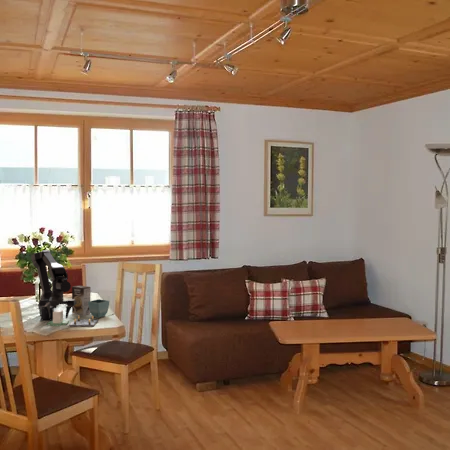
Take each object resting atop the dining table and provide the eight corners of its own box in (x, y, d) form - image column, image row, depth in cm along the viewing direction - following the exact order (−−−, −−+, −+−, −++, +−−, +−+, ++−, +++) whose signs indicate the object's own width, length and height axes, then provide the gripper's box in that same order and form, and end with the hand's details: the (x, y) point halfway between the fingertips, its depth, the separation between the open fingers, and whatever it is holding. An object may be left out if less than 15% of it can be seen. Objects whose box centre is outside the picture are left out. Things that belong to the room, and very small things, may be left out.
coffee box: (71, 313, 325) (71, 286, 325) (79, 311, 331) (79, 285, 330) (83, 315, 321) (83, 287, 320) (90, 313, 327) (90, 286, 326)
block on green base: (45, 326, 294) (45, 312, 294) (51, 321, 304) (51, 309, 304) (64, 326, 294) (64, 312, 294) (69, 321, 304) (69, 309, 304)
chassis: (68, 326, 293) (68, 320, 292) (75, 321, 306) (74, 314, 305) (93, 326, 293) (93, 320, 293) (98, 321, 306) (98, 314, 306)
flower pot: (99, 318, 312) (98, 303, 312) (87, 317, 317) (87, 301, 316) (109, 316, 320) (109, 300, 319) (98, 314, 324) (98, 299, 324)
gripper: (35, 292, 290) (35, 321, 291) (71, 292, 290) (71, 321, 291) (42, 288, 301) (42, 317, 302) (76, 288, 301) (76, 317, 302)
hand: (57, 318), depth 299 cm, fingers open, 9 cm apart
